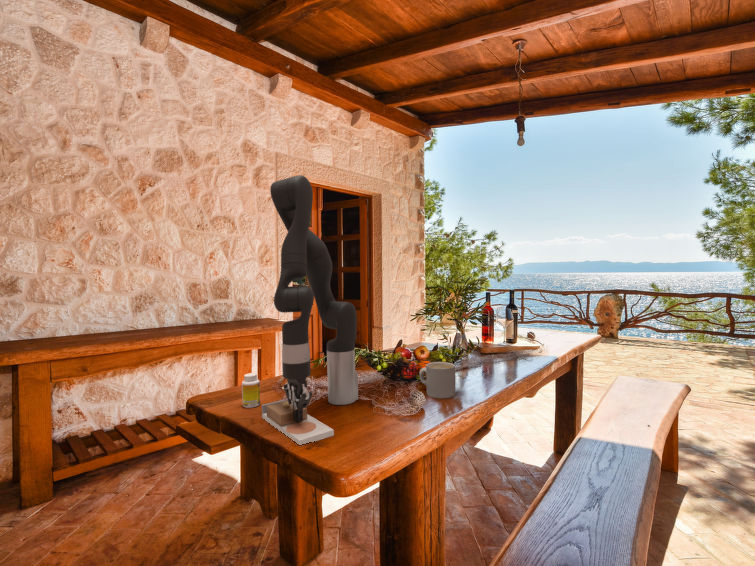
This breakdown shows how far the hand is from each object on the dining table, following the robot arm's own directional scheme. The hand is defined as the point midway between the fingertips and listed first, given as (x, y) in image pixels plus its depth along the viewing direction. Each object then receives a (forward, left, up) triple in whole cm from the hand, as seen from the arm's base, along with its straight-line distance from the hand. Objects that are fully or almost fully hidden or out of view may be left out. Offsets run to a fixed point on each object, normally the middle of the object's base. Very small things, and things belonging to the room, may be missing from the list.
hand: (298, 421), depth 108 cm
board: (-1, -3, -2) cm, 4 cm away
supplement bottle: (+3, -29, -3) cm, 29 cm away
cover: (0, -7, -1) cm, 7 cm away
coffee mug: (-52, +2, -3) cm, 52 cm away
